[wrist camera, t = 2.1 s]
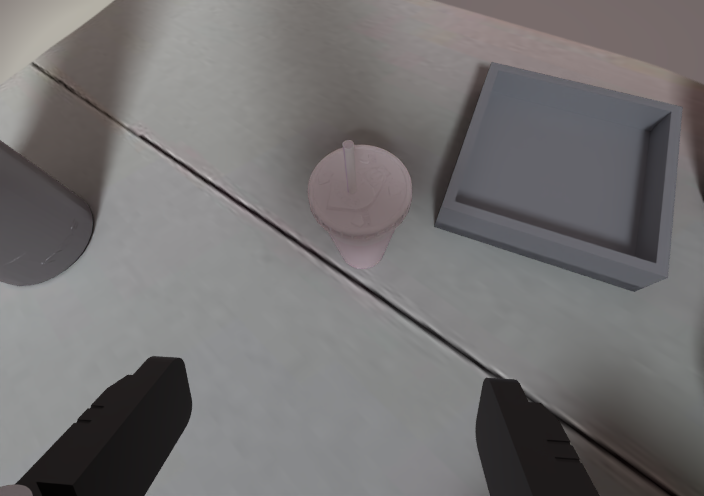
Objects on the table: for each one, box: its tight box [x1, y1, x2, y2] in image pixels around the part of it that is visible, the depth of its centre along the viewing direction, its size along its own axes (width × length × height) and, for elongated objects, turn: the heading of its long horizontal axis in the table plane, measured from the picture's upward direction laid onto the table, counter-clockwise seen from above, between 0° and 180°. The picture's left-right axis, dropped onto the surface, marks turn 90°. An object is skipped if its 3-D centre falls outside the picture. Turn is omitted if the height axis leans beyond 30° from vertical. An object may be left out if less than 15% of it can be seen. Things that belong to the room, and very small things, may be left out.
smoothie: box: [308, 140, 412, 269], centre depth 25 cm, size 6×6×14 cm
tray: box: [434, 62, 682, 292], centre depth 31 cm, size 16×16×4 cm
